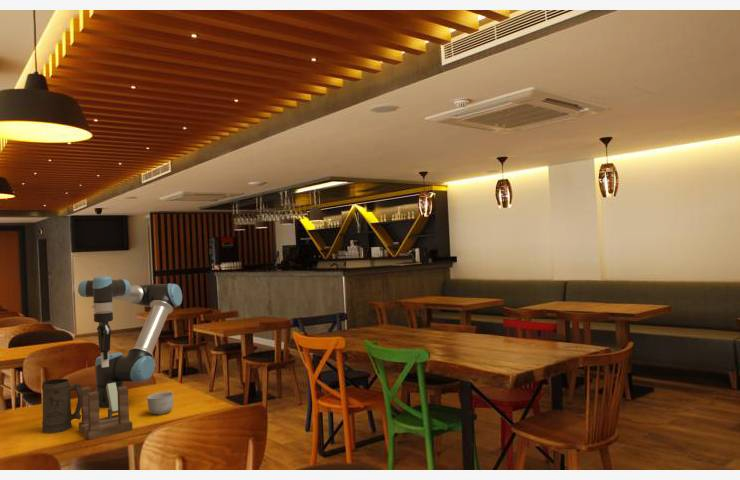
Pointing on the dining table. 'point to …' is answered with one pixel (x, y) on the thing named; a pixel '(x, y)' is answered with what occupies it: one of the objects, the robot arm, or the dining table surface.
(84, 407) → the wooden stand
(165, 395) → the teacup
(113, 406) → the hinged leg
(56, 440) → the dining table surface
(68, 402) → the beer stein
